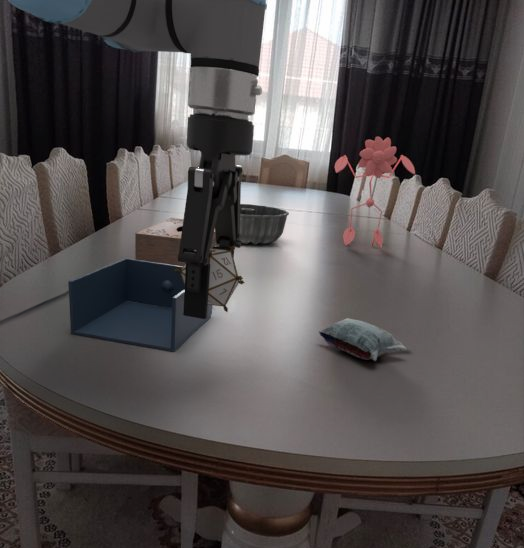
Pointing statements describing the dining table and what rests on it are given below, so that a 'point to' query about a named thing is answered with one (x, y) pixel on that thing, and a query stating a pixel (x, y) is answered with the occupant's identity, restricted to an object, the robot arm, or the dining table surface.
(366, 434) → the dining table surface
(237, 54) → the robot arm
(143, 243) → the tissue box cover
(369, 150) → the figurine
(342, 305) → the dining table surface
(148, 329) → the blue open box
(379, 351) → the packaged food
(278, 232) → the bundt pan
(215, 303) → the game die
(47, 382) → the dining table surface
